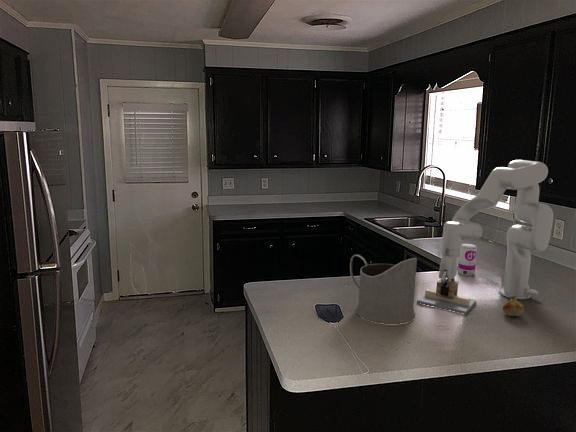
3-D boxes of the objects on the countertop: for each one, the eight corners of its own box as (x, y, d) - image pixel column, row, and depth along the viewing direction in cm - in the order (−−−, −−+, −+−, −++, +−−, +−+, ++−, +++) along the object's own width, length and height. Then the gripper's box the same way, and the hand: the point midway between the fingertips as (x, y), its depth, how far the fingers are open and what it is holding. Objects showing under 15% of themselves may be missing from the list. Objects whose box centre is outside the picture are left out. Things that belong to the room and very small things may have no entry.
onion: (496, 313, 190) (498, 294, 188) (512, 311, 193) (514, 292, 191) (511, 320, 183) (514, 301, 181) (527, 318, 186) (529, 298, 184)
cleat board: (475, 303, 200) (476, 294, 200) (465, 315, 188) (466, 305, 187) (429, 293, 212) (430, 284, 211) (416, 303, 199) (417, 294, 198)
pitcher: (388, 331, 172) (392, 264, 167) (329, 304, 196) (331, 245, 191) (427, 316, 186) (432, 254, 181) (367, 293, 210) (370, 238, 205)
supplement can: (477, 276, 237) (480, 247, 234) (460, 276, 237) (463, 246, 234) (471, 271, 245) (473, 243, 242) (455, 271, 245) (457, 242, 242)
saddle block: (457, 295, 200) (458, 281, 198) (452, 299, 194) (453, 285, 193) (440, 291, 203) (441, 278, 202) (435, 295, 198) (436, 281, 197)
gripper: (448, 246, 204) (444, 285, 208) (434, 254, 191) (431, 296, 194) (466, 249, 200) (461, 289, 204) (453, 257, 186) (449, 300, 190)
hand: (446, 292), depth 199 cm, fingers closed on saddle block, 6 cm apart
